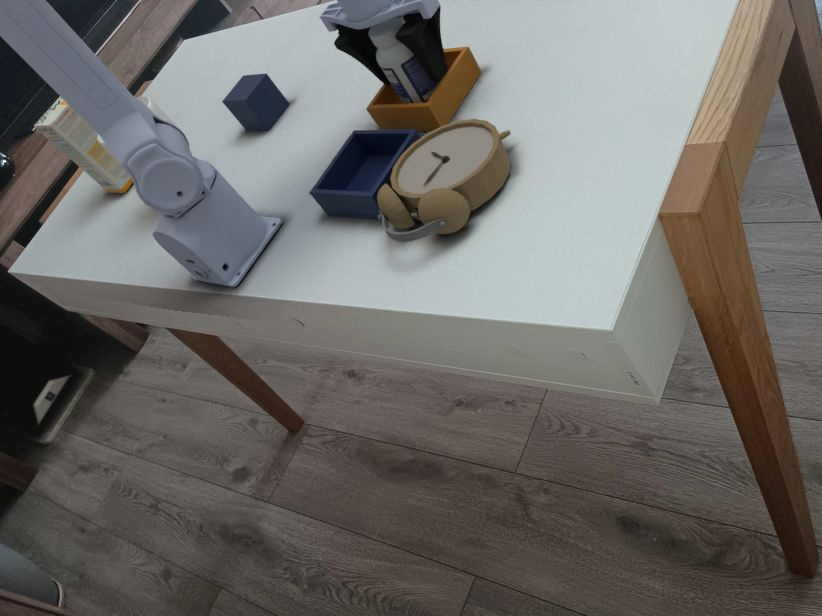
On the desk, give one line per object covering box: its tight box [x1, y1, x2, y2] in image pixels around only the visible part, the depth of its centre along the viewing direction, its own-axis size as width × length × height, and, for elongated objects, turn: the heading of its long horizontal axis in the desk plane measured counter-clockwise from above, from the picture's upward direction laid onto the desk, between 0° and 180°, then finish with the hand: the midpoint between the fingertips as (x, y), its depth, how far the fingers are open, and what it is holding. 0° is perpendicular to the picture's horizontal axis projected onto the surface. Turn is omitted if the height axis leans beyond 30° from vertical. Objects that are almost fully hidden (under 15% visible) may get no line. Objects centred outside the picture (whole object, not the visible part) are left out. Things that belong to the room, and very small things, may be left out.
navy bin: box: [309, 129, 422, 220], centre depth 78 cm, size 9×9×3 cm
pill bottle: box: [369, 18, 444, 104], centre depth 80 cm, size 5×5×10 cm
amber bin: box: [365, 46, 482, 132], centre depth 83 cm, size 9×9×3 cm
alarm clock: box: [377, 118, 512, 243], centre depth 71 cm, size 11×5×15 cm
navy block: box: [221, 73, 290, 132], centre depth 99 cm, size 5×5×5 cm
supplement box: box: [33, 95, 134, 194], centre depth 105 cm, size 8×5×13 cm, turn 152°
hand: (416, 77), depth 82 cm, fingers open, 7 cm apart
